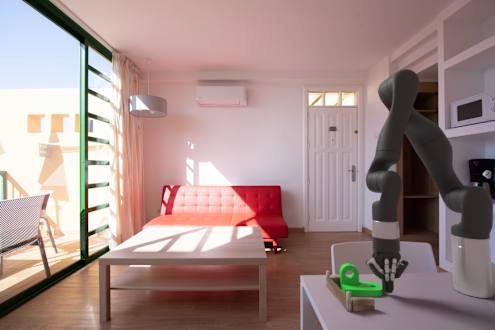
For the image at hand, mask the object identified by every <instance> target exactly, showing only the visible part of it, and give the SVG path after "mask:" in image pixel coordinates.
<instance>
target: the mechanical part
mask: <svg viewBox="0 0 495 330" xmlns="http://www.w3.org/2000/svg"><path fill="white" fill-rule="evenodd" d="M348 271H351V272H352V274H351V275H350V276H348V275H346V274H347V272H348ZM339 276H340V287H339V288H340V289H341V290H342V291H343V292H344V293H345V294H346V291H350V292H351V297H382V296H383V293H384V292H383V291H384V290H383V288H382V284H380V283H379V282H375V281H374V282H372V281H360V272H359V270H358V268H356V266H355V265H354V264H352V263H349V262H348V263H343V264H342V265H341V266H340V268H339ZM347 276H348V277H347Z"/></svg>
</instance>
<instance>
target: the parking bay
mask: <svg viewBox="0 0 495 330" xmlns="http://www.w3.org/2000/svg"><path fill="white" fill-rule="evenodd" d="M330 273H331V272H330V270H325V286H326V288H327V289H328V290H329V291H330V292H331V293H332V295H334V297H335V298H336V299H337V301H338V302H339V303H340V304H341V305H342V306H343V308H344V309H345V310H346V311H347V313H348V312H349V313H350V312H352V311H353V312H363V311H364V312H368V311H369V312H370V311H372V312H373V311H375V310H376V309H375V307H376V306H375V305H376V304H375V298H374V297H373V296H370V297H352V296H351V292H350V291H346V294H345V293H344V292H343V291H342V289H341V288H340V275H339V276H330V275H331V274H330ZM346 276H347V277H349V275H346Z"/></svg>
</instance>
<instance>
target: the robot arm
mask: <svg viewBox="0 0 495 330" xmlns="http://www.w3.org/2000/svg"><path fill="white" fill-rule="evenodd" d="M420 81H421V80H420V77H419V75H418V73H416V72H415V70H411V69H408V68H406V69H401V70H399V71H396V72H395V73H393V74H392V75H390V76H389V77H388V78H387V77H386V79H385V80H383V81H382V82H381V83H380V84H379V85H378V88H377V94H378V98H379V100H380V101H381V102H382V104H383V106H384V107H386V109H387V110H388V112H389V113H388V116H387V118H386V120H385V121H384V123H383V126H382V128H381V130H380V132H379V134H378V139H377V142H376V143H377V144H376V146H375V147H376V148H375V154H374V157H373V159H372V161H371V164H370V165H369V169H368V170H367V173H366V175H365V186H366V187H367V189H368V190H369V191H370V192H372V193H377V194H380V198H379V200H376V201H374V202H373V203H372V205H371V218H372V220H371V222H372V223H371V239H372V240H371V242H372V251H373V252H372V255H371V257H372V258H370V259H369V260H365V265H366V266H367V267H368V268H369V269H370V271H371V272H372V273H373V275H374V276H376V277H377V278H379V280H381V286H382V291H384V292H385V293H386V294H393V292H394V290H395V284H394V281H395V279H400V277H401V276H402V275H403V273H404V272H405V270H406V268H407V267H408V265H409V262H408V261H407V260H405V259H404V258H402V254H401V253H400V252H401V238H400V226H399V221H398V220H399V217H398V216H399V214H398V206H399V204H400V198H401V195H402V191H403V179H402V177H401V176H400V174H399V173H398V172H396V171H395V170H390V168H391V167H392V166H394V165H397V164H399V162H400V159H401V154H402V149H403V144H404V137H405V136H406V137H407V139H408V141H409V142H410V145H411V146H412V147H413V149H414V151H415V152H416V154H417V155H418V157H419V159H420V161H422V163H423V165H424V166H425V167H424V168H426V170H427V172H428V174H429V175H430V176H431V179H432V180H433V182H434V185H435V186H436V189H437V191H438V193H439V196H440V197H441V199H442V201H443V203H444V205H445V206H446V207H447V208H448V209H449V210H450V211H451V212H455V213H457V214H458V213H459V214H461V217H460V220H461V221H460V222H459V223H455V224H452V225H451V227H450V236H451V238H450V239H451V241H450V242H451V255H452V256H451V258H452V259H451V260H452V261H451V263H452V279H453V280H452V281H453V283H452V284H453V288H454V290H456V291H457V292H459V293H461V294H464V295H468V296H471V297H475V298H481V299H491V298H493V296H495V263H494V262H493V261H492V255H491V252H492V251H491V236H490V235H491V231H492V229H493V226H494V225H493V224H494V222H493V221H494V219H493V218H494V201H493V197H492V195H491V193H490V192H489V190H488V189H487V188H485V187H484V186H483V187H482V186H480V185H479V186H478V185H469V184H468V185H465V184H463V183H462V181H461V180H460V178H459V177H458V175H457V174H456V171H455V169H454V166H453V164H454V163H453V162H454V159H453V158H454V155H453V154H454V151H453V146H452V144H451V142H450V140H449V139H448V137H447V135H446V134H445V132H444V130H443V129H442V128H441V127H440V126H439V125H438V124H436V123H435V122H433V120H430V119H429V118H427V117H426V116H424V115H422V114H421V113H420V112H418V111H417V110H416V109H415V107H414V103H415V101H416V99H417V96H418V92H419V90H420ZM377 266H378V268H377Z"/></svg>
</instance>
